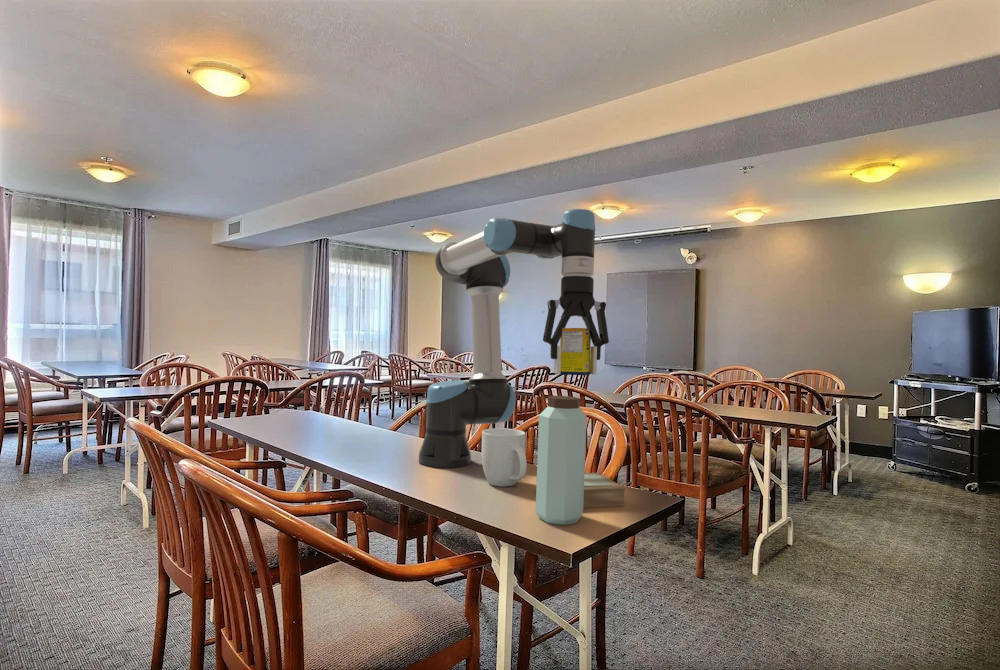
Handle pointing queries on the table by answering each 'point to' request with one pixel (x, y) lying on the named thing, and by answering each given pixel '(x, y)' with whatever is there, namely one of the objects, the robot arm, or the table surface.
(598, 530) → the table surface
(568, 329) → the supplement box
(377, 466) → the table surface
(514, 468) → the mug
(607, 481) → the oak stand
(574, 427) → the water bottle
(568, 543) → the table surface
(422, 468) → the table surface
